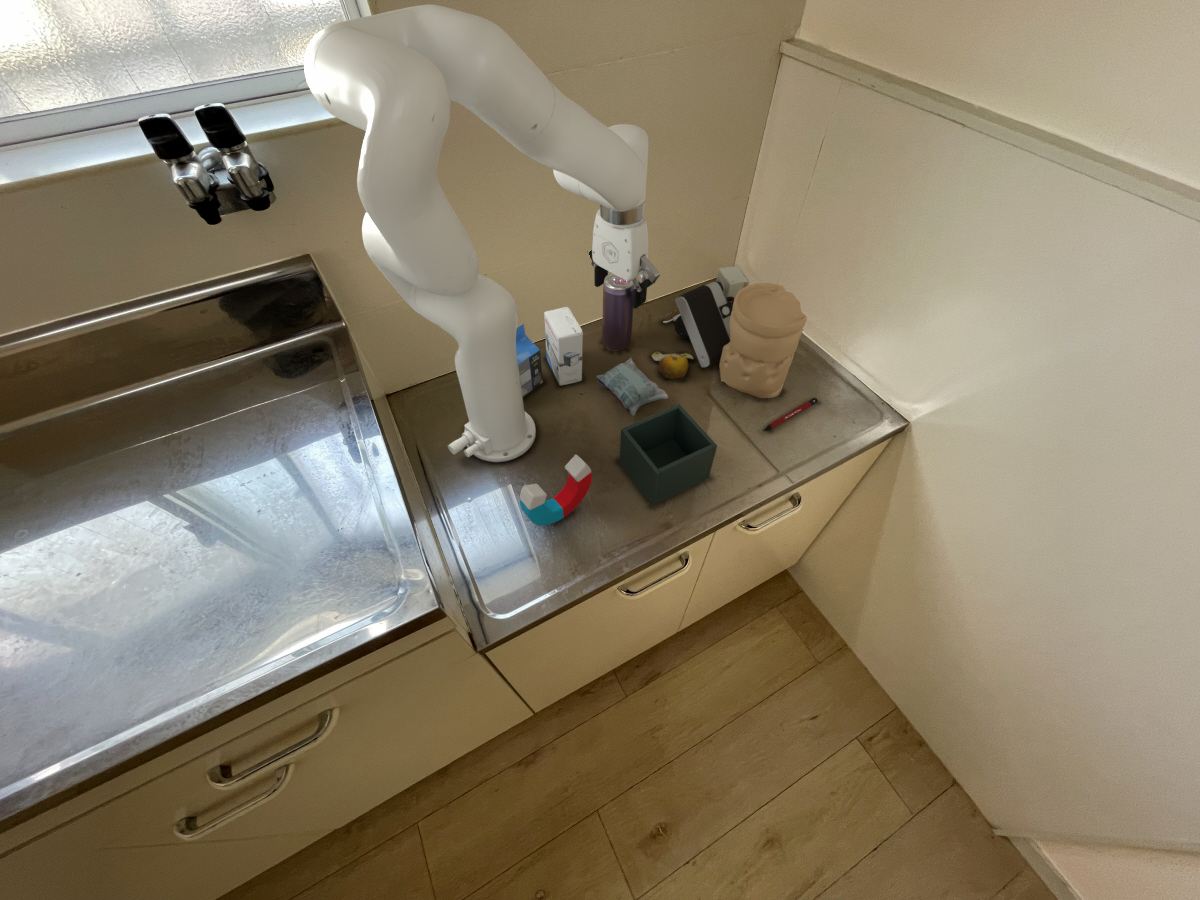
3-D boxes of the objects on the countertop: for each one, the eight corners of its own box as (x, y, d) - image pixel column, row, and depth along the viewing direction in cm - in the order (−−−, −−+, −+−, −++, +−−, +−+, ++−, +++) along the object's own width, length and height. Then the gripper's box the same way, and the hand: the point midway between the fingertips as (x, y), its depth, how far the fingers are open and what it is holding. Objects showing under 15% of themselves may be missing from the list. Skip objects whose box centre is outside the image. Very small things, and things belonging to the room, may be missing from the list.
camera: (684, 370, 119) (721, 352, 122) (713, 365, 109) (752, 345, 112) (658, 304, 116) (697, 287, 119) (685, 293, 106) (726, 274, 109)
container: (762, 354, 115) (785, 277, 101) (794, 396, 108) (823, 319, 94) (705, 367, 113) (721, 290, 99) (734, 411, 105) (756, 334, 91)
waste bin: (652, 506, 92) (656, 473, 85) (619, 462, 97) (620, 428, 91) (708, 478, 95) (717, 445, 89) (673, 437, 101) (679, 403, 94)
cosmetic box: (738, 332, 120) (751, 282, 110) (719, 335, 119) (730, 285, 109) (727, 314, 124) (738, 264, 114) (708, 317, 123) (718, 267, 113)
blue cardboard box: (510, 407, 105) (502, 357, 96) (496, 398, 107) (486, 347, 97) (543, 382, 110) (539, 331, 100) (529, 373, 111) (523, 322, 102)
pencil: (760, 431, 102) (761, 428, 101) (813, 400, 107) (814, 396, 106) (763, 434, 101) (765, 431, 101) (816, 403, 107) (818, 399, 106)
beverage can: (628, 354, 115) (632, 291, 103) (599, 350, 116) (600, 287, 104) (633, 336, 119) (637, 273, 107) (605, 332, 120) (606, 269, 108)
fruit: (692, 354, 115) (694, 340, 112) (694, 382, 110) (697, 368, 107) (651, 353, 115) (652, 339, 113) (652, 381, 110) (653, 367, 107)
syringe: (660, 326, 122) (666, 326, 120) (658, 317, 121) (664, 317, 119) (693, 310, 126) (700, 311, 124) (692, 302, 125) (699, 302, 123)
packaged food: (631, 368, 112) (632, 349, 109) (667, 404, 106) (670, 385, 102) (594, 385, 109) (594, 366, 106) (629, 423, 103) (631, 404, 99)
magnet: (533, 538, 88) (527, 501, 80) (523, 526, 89) (516, 489, 81) (592, 499, 92) (592, 461, 85) (582, 488, 94) (581, 450, 86)
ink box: (545, 359, 114) (542, 310, 105) (569, 353, 115) (567, 304, 106) (560, 387, 109) (557, 338, 100) (584, 380, 110) (583, 332, 101)
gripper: (570, 199, 97) (573, 284, 110) (647, 236, 90) (641, 323, 103) (600, 183, 100) (600, 268, 114) (676, 218, 93) (667, 304, 106)
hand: (619, 294), depth 108 cm, fingers open, 9 cm apart
